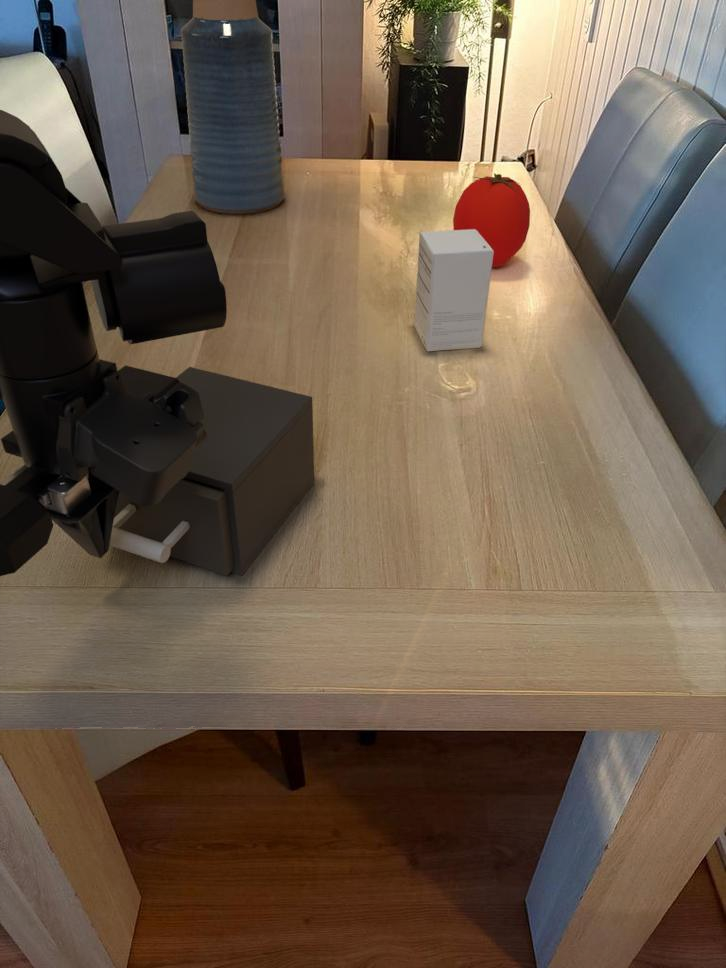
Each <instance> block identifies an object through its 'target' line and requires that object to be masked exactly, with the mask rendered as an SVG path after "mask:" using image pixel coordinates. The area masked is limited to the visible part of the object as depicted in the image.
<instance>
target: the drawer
mask: <svg viewBox="0 0 726 968" xmlns="http://www.w3.org/2000/svg"><path fill="white" fill-rule="evenodd" d="M109 547H113V548H116V549H118V550H122V551H125V552H128V553H131V554H134V555H137V556H140V557H141V558H142V557H143V558H146V559H148V560H150V561H154V562H156V563H157V562H158V563H161V564H165V563H166V562H168V560H169V558H173V559H177V560H179V561H182V562H184V563H189V564H191V565H195V566H197V567H200V568H204V569H206V570H209V571H212V572H215V573H218V574H221V575H223V576H229V574H230V573H231V572H230V571H231V570H232V569H233V568H234V557H233V549H232V540H231V532H230V524H229V515H228V507H227V498H226V492H224V489H220V488H217V487H214V486H210V485H207V484H203V483H200V482H197V481H193V480H190V479H187V478H183V479H180V480H179V481H178V482H177V483H176V484H175V485H174V486H173V487H172V488H171V489H170V490H169V491H168V492H167V493H166V494H165V496H164V498H163V499H162V500H161V501H160V502H159V503H157V504H156V505H153V506H141V505H138V504H136V503H134V502H132V501H131V500H129V498H128V497H127V496H126V495H125V494H123V493H122V492H119V496H118V500H117V505H116V510H115V516H114V522H113V527H112V533H111V539H110V544H109Z"/></svg>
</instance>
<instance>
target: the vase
mask: <svg viewBox="0 0 726 968" xmlns="http://www.w3.org/2000/svg"><path fill="white" fill-rule="evenodd" d="M180 37H181V41H182V42H181V47H182V55H183V57H182V60H183V64H184V65H183V70H184V79H185V80H184V85H185V93H186V95H185V97H186V107H187V121H188V135H189V139H188V141H189V146H190V147H189V154H190V156H191V157H190V166H191V169H192V170H191V179H192V182H193V183H192V190H193V198H194V200H195V202H196V203H197V204H198V205H199V206H200V207H201V208H203V209H205V210H207V211H210V212H213V213H218V214H225V215H249V214H251V215H253V214H258V213H263V212H267V211H269V210H272V209H275V208H276V207H278V206H279V205H280V204H281V202H282V201H283V200H284V199H285V194H286V193H285V183H284V171H283V156H282V147H281V143H282V141H281V140H282V139H281V136H280V133H281V132H280V122H279V120H280V119H279V115H278V114H279V109H278V106H279V105H278V95H277V86H276V85H277V81H276V73H275V72H276V71H275V70H276V67H275V58H274V43H273V39H274V37H273V30H272V29H271V28H270V27H269V26H268V25H267V24H266V23H265V22H263V20H262V19H260V18H259V12H258V6H257V1H256V0H192V18H190V20H189V21H188V22H187V23H185V25H183V26H182V28H181V29H180Z"/></svg>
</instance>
